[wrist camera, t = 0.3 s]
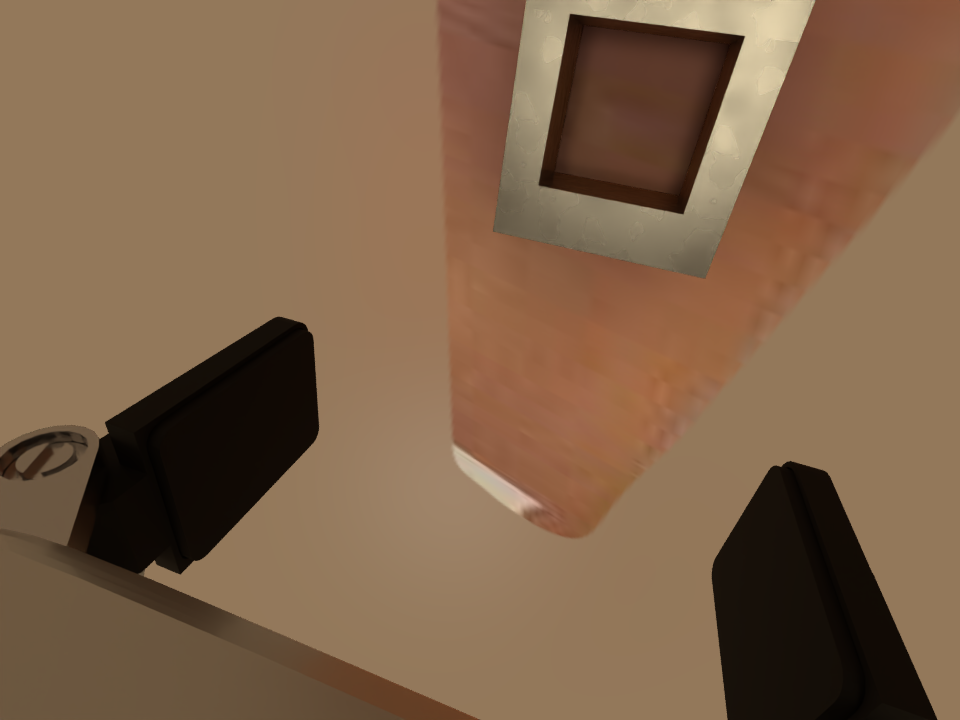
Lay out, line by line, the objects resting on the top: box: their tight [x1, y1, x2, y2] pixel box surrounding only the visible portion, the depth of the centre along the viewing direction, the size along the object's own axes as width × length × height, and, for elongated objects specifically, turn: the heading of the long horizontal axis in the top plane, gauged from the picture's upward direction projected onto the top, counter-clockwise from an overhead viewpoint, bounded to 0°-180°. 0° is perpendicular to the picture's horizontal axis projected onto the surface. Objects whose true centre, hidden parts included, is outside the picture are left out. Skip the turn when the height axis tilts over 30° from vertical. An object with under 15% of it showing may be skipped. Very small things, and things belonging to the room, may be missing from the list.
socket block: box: [493, 0, 815, 278], centre depth 30 cm, size 16×14×6 cm
